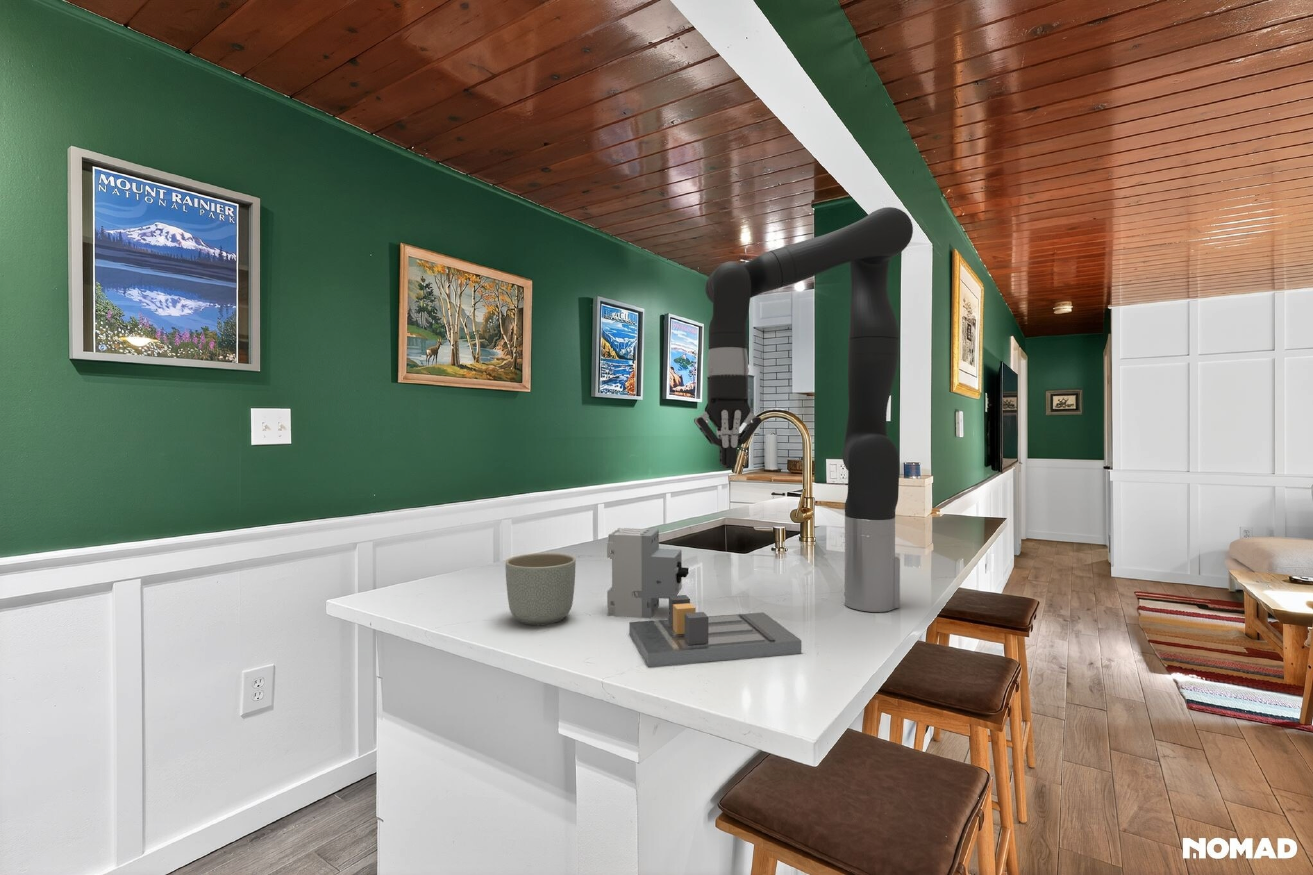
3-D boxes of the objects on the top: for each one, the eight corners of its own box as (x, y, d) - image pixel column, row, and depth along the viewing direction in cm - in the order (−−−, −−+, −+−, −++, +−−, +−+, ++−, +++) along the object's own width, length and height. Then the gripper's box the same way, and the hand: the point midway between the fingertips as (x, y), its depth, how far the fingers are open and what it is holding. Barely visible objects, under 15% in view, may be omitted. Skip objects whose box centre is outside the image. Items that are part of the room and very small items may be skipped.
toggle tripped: (691, 627, 103) (690, 603, 103) (695, 632, 101) (695, 607, 101) (672, 629, 102) (672, 604, 102) (677, 634, 100) (677, 608, 100)
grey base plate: (763, 623, 113) (763, 611, 113) (801, 653, 98) (801, 639, 98) (629, 633, 107) (629, 620, 107) (648, 667, 93) (648, 651, 93)
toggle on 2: (703, 637, 98) (703, 611, 98) (708, 643, 96) (708, 616, 96) (684, 639, 98) (684, 613, 98) (689, 644, 95) (689, 618, 95)
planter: (588, 614, 118) (588, 556, 118) (550, 634, 107) (549, 570, 107) (533, 606, 124) (532, 550, 123) (491, 625, 112) (490, 563, 112)
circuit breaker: (684, 620, 115) (684, 536, 114) (607, 615, 118) (607, 534, 117) (690, 608, 122) (690, 530, 122) (618, 604, 125) (617, 527, 125)
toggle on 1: (685, 618, 108) (685, 594, 108) (690, 623, 106) (690, 599, 106) (668, 619, 108) (668, 596, 107) (672, 624, 105) (672, 600, 105)
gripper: (753, 376, 123) (753, 466, 124) (687, 375, 120) (687, 467, 121) (769, 373, 116) (769, 468, 116) (699, 372, 113) (699, 470, 113)
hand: (727, 467), depth 118 cm, fingers closed
